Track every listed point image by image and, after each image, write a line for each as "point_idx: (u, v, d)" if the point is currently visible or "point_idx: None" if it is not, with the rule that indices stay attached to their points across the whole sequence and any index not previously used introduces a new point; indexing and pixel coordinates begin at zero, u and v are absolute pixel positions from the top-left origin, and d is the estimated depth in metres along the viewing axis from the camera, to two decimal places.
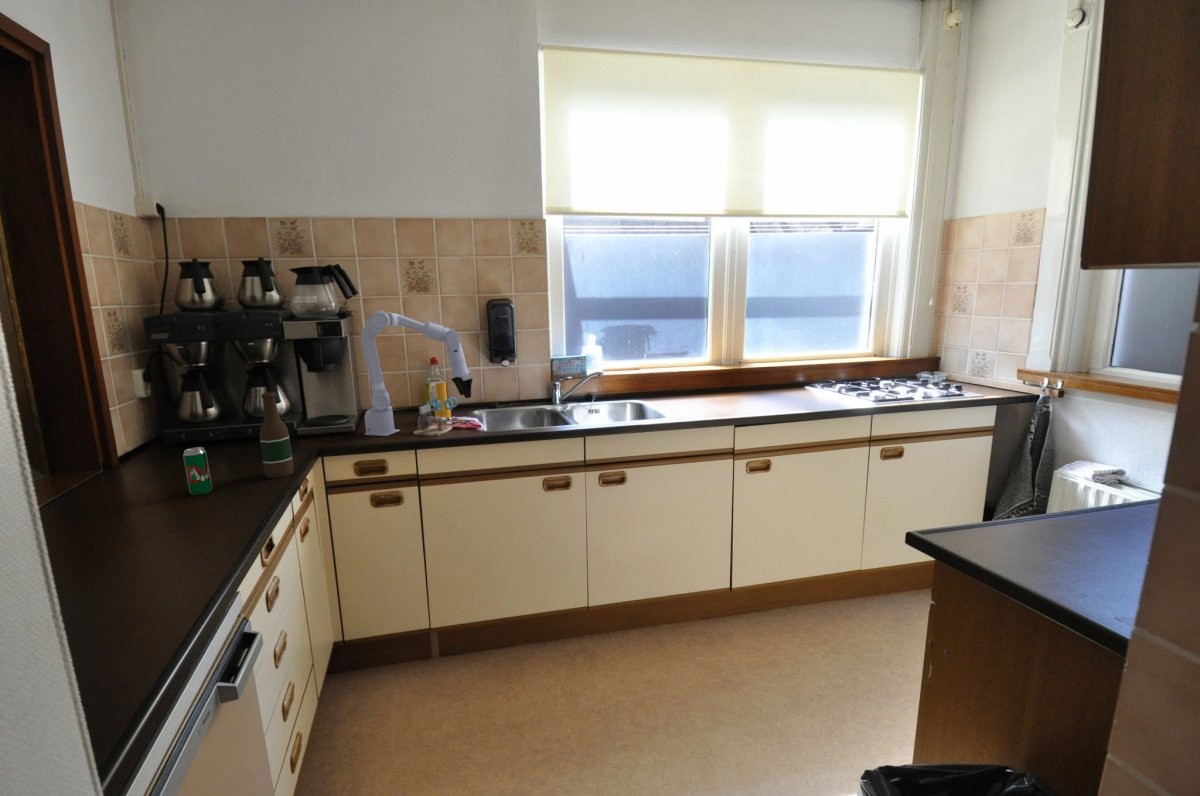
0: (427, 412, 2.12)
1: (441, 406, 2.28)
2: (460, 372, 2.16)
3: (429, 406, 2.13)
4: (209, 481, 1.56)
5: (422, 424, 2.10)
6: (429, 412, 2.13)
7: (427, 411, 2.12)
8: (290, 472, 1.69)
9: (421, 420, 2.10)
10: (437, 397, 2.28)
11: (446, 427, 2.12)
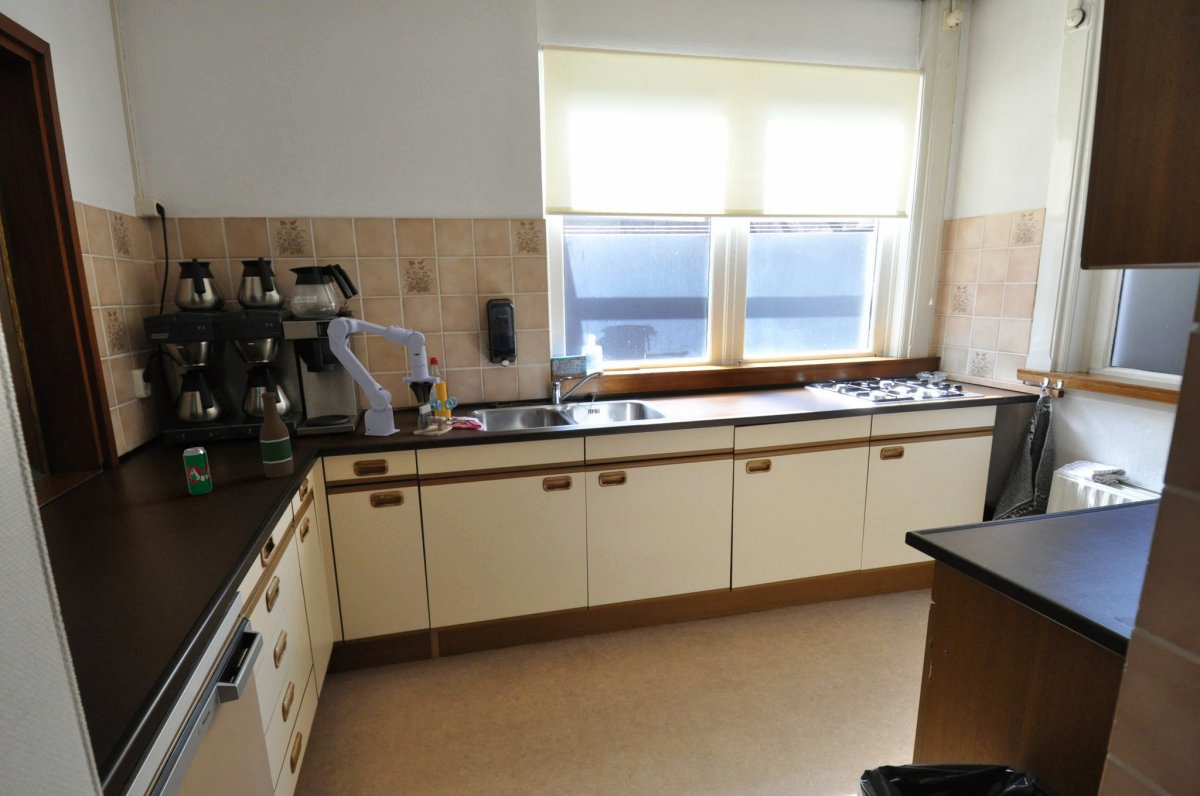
0: (427, 412, 2.12)
1: (441, 406, 2.28)
2: (426, 376, 2.11)
3: (429, 406, 2.13)
4: (209, 481, 1.56)
5: (422, 424, 2.10)
6: (429, 412, 2.13)
7: (427, 411, 2.12)
8: (290, 472, 1.69)
9: (421, 420, 2.10)
10: (437, 397, 2.28)
11: (446, 427, 2.12)
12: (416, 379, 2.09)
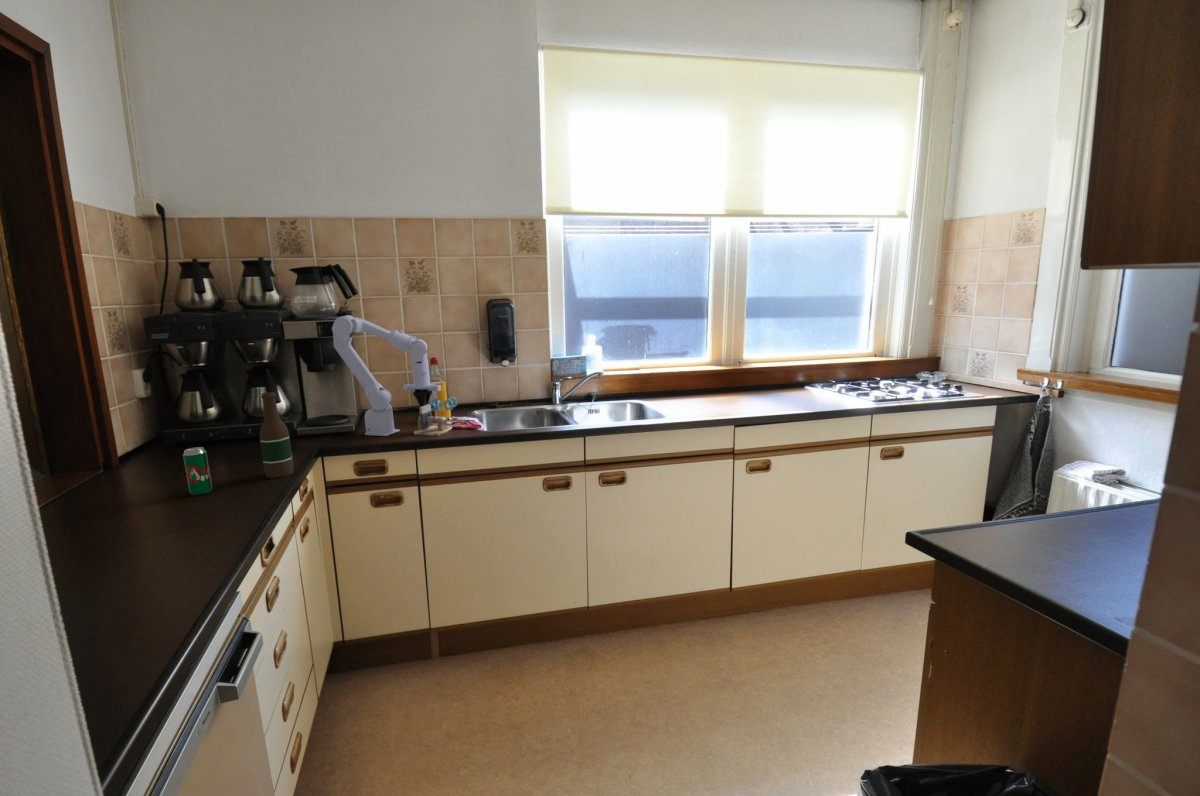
0: (427, 412, 2.12)
1: (441, 406, 2.28)
2: (427, 384, 2.11)
3: (429, 406, 2.13)
4: (209, 481, 1.56)
5: (422, 424, 2.10)
6: (429, 412, 2.13)
7: (427, 411, 2.12)
8: (290, 472, 1.69)
9: (421, 420, 2.10)
10: (437, 397, 2.28)
11: (446, 427, 2.12)
12: (417, 387, 2.09)
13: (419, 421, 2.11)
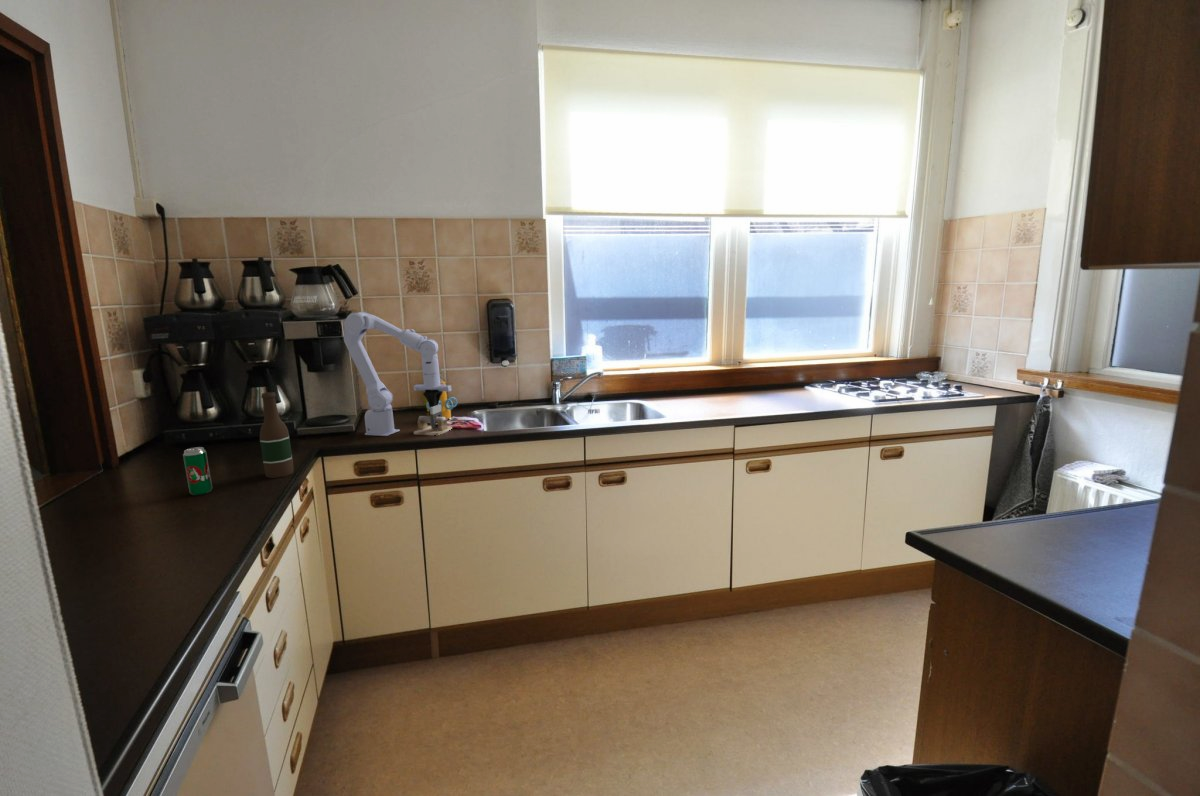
0: (438, 412, 2.11)
1: (441, 406, 2.28)
2: (438, 384, 2.10)
3: (439, 406, 2.12)
4: (209, 481, 1.56)
5: (433, 425, 2.09)
6: (439, 412, 2.12)
7: (438, 411, 2.11)
8: (290, 472, 1.69)
9: (432, 421, 2.09)
10: None
11: (446, 427, 2.12)
12: (428, 387, 2.08)
13: (419, 421, 2.11)
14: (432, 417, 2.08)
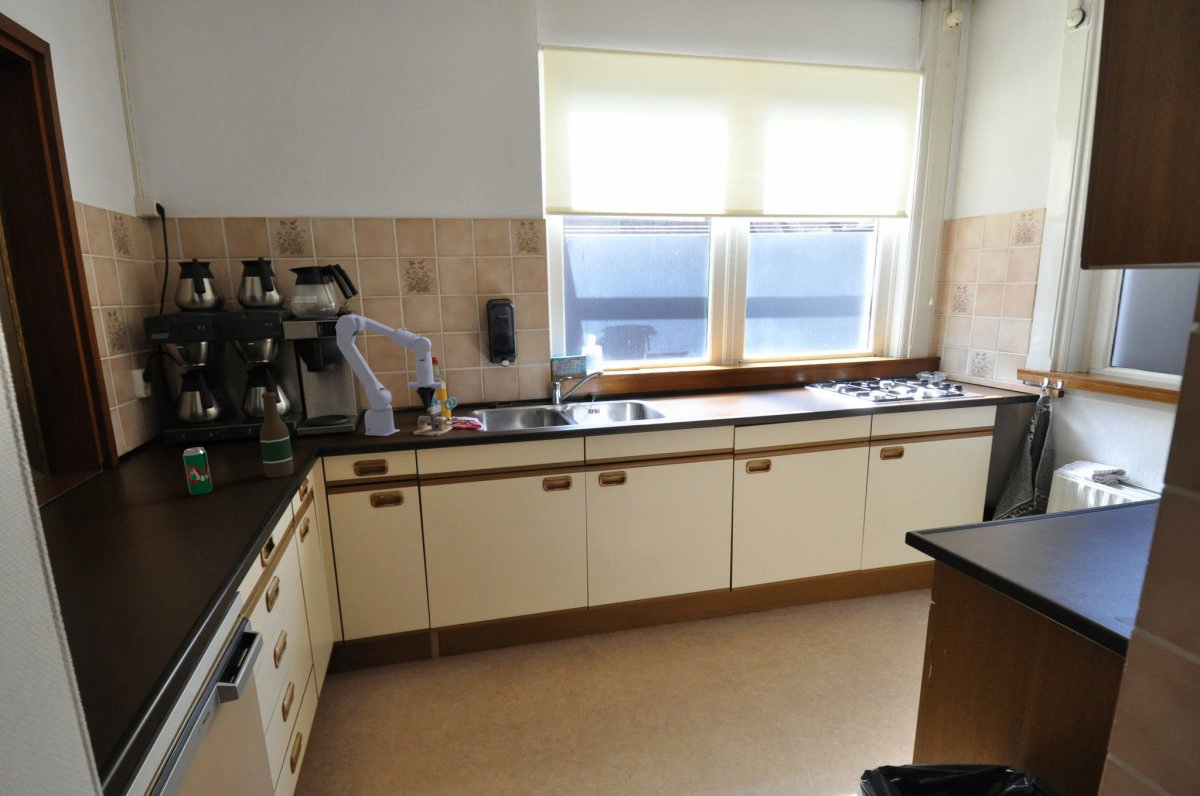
0: (438, 412, 2.11)
1: (441, 406, 2.28)
2: (431, 381, 2.10)
3: (439, 406, 2.12)
4: (209, 481, 1.56)
5: (433, 425, 2.09)
6: (439, 412, 2.12)
7: (438, 411, 2.11)
8: (290, 472, 1.69)
9: (432, 421, 2.09)
10: (437, 397, 2.28)
11: (446, 427, 2.12)
12: (421, 384, 2.09)
13: (419, 421, 2.11)
14: (432, 417, 2.08)
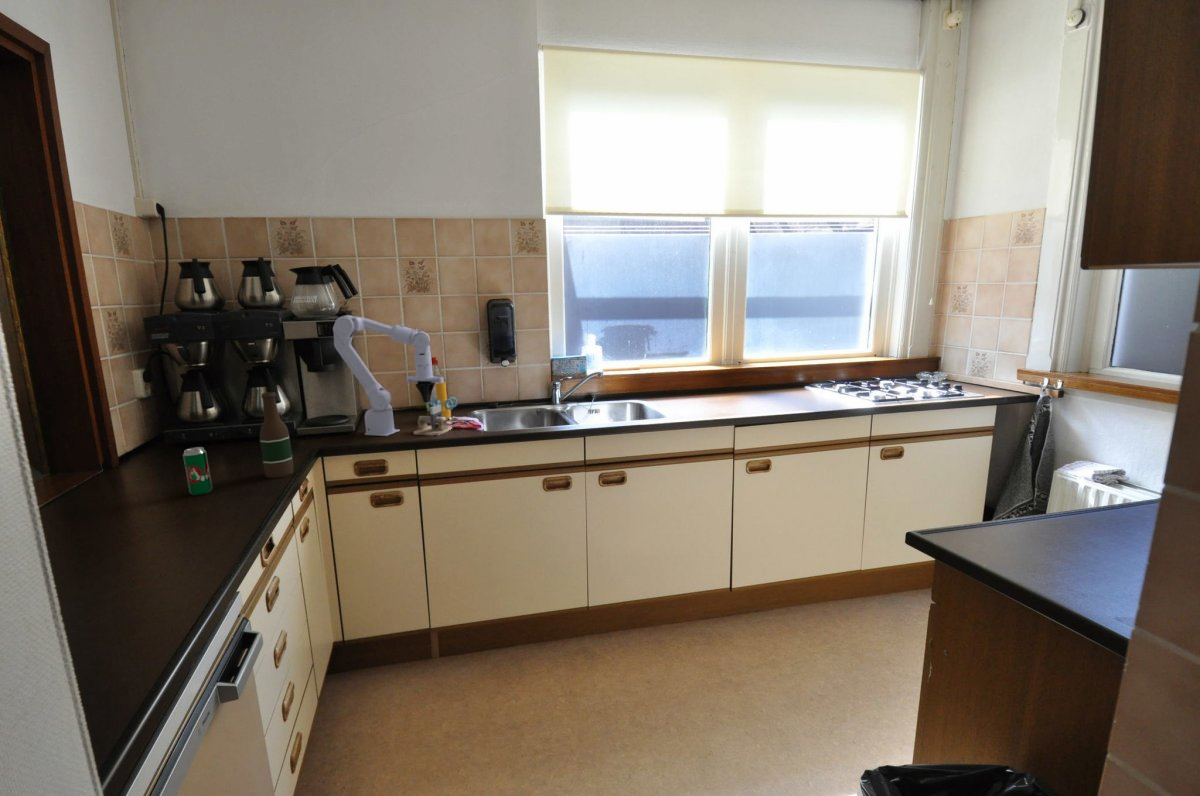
0: (438, 412, 2.11)
1: (441, 406, 2.28)
2: (430, 376, 2.11)
3: (439, 406, 2.12)
4: (209, 481, 1.56)
5: (433, 425, 2.09)
6: (439, 412, 2.12)
7: (438, 411, 2.11)
8: (290, 472, 1.69)
9: (432, 421, 2.09)
10: (437, 397, 2.28)
11: (446, 427, 2.12)
12: (420, 379, 2.10)
13: (419, 421, 2.11)
14: (432, 417, 2.08)
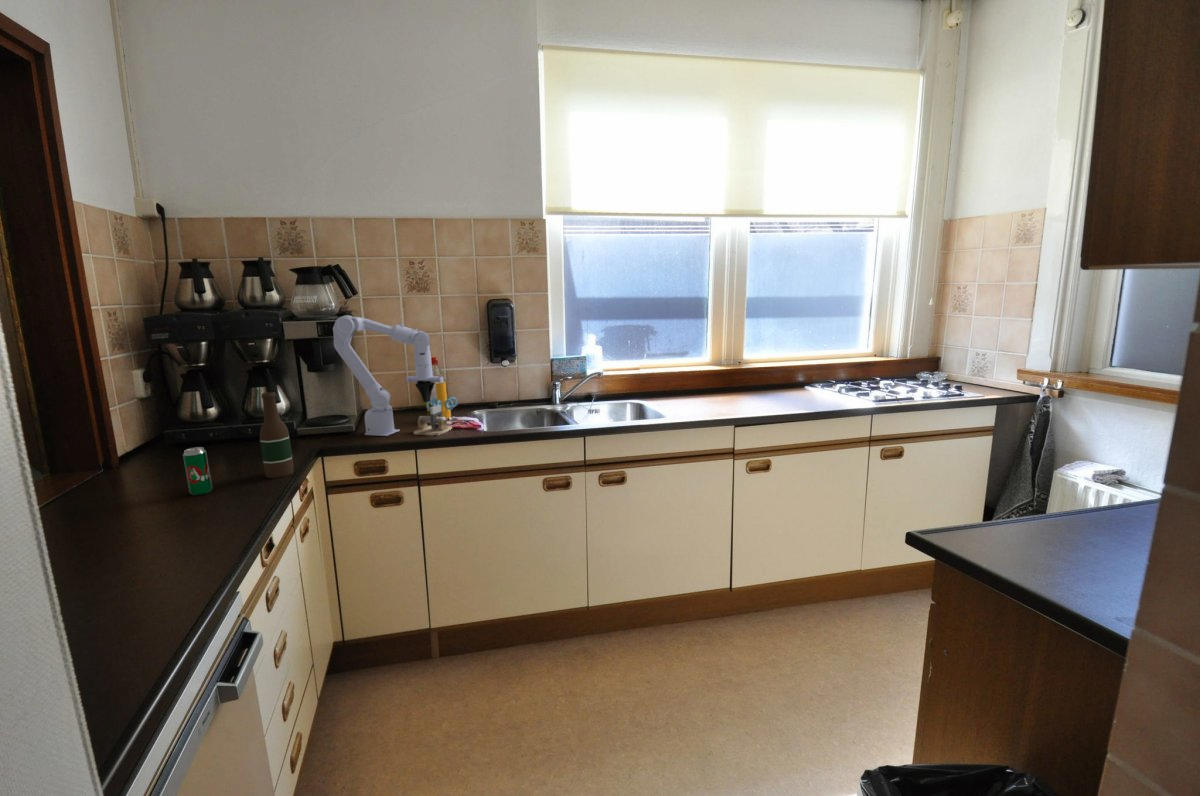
0: (438, 412, 2.11)
1: (441, 406, 2.28)
2: (430, 375, 2.12)
3: (439, 406, 2.12)
4: (209, 481, 1.56)
5: (433, 425, 2.09)
6: (439, 412, 2.12)
7: (438, 411, 2.11)
8: (290, 472, 1.69)
9: (432, 421, 2.09)
10: (437, 397, 2.28)
11: (446, 427, 2.12)
12: (420, 378, 2.11)
13: (419, 421, 2.11)
14: (432, 417, 2.08)
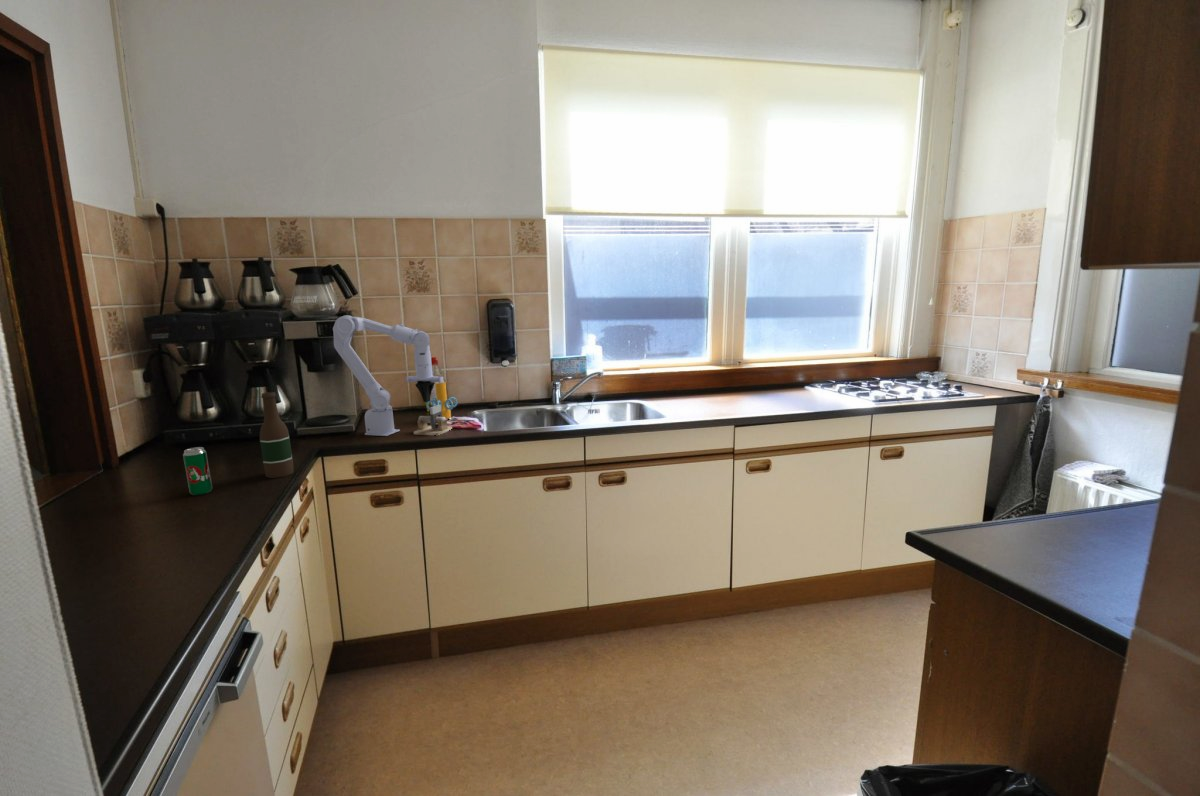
0: (438, 412, 2.11)
1: (441, 406, 2.28)
2: (430, 375, 2.12)
3: (439, 406, 2.12)
4: (209, 481, 1.56)
5: (433, 425, 2.09)
6: (439, 412, 2.12)
7: (438, 411, 2.11)
8: (290, 472, 1.69)
9: (432, 421, 2.09)
10: (437, 397, 2.28)
11: (446, 427, 2.12)
12: (420, 378, 2.11)
13: (419, 421, 2.11)
14: (432, 417, 2.08)
